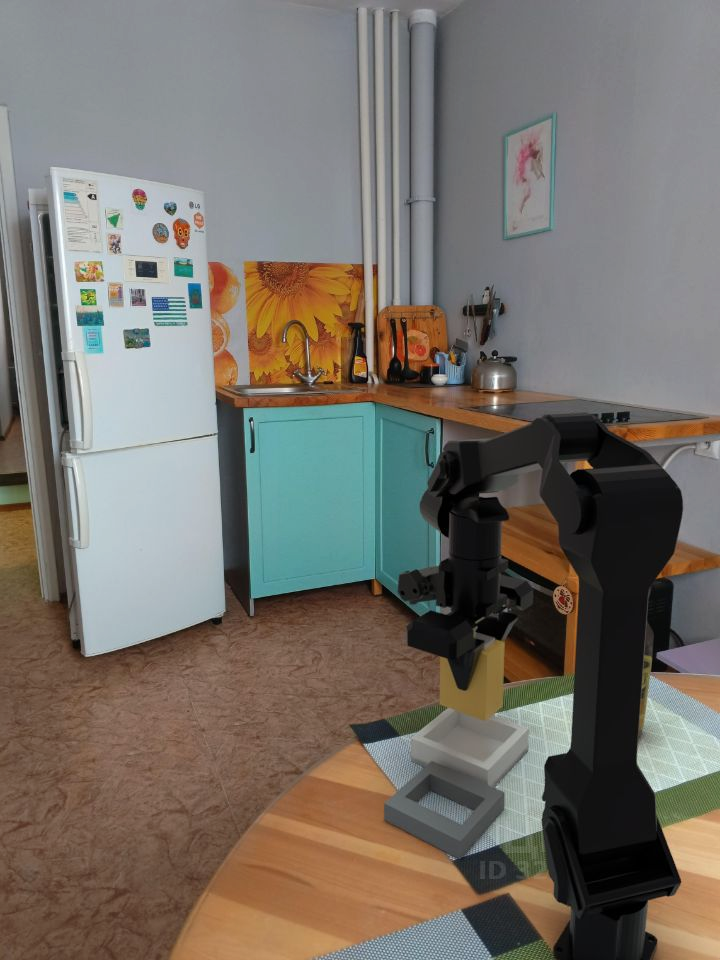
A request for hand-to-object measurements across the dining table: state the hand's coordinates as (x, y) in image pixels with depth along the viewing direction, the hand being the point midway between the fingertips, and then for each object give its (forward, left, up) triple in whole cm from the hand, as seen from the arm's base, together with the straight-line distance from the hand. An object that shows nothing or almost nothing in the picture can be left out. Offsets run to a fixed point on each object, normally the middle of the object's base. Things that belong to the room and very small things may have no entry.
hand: (471, 681), depth 82 cm
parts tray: (0, 0, -10) cm, 10 cm away
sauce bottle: (+16, -12, -10) cm, 22 cm away
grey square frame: (-10, -3, -10) cm, 15 cm away
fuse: (0, 0, -3) cm, 3 cm away
